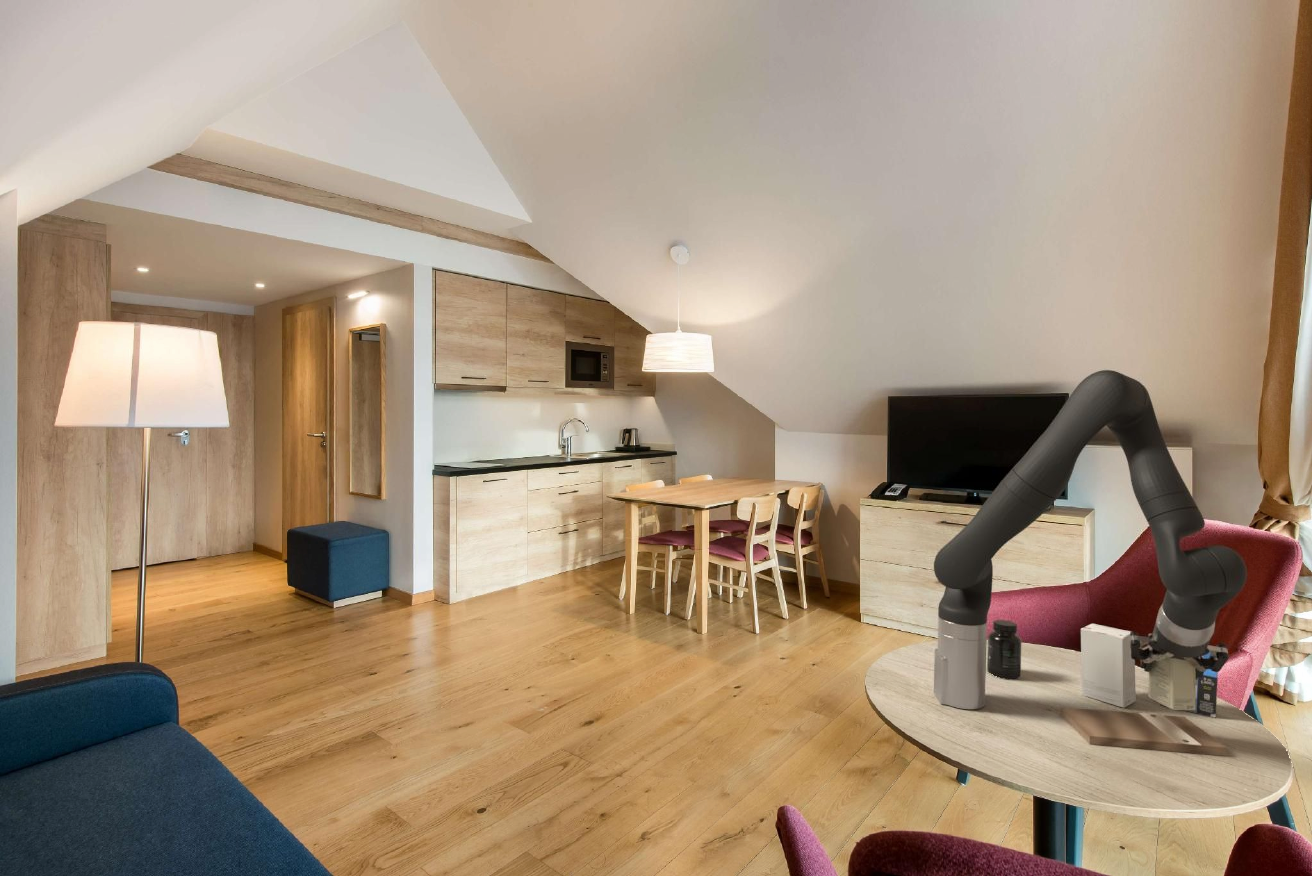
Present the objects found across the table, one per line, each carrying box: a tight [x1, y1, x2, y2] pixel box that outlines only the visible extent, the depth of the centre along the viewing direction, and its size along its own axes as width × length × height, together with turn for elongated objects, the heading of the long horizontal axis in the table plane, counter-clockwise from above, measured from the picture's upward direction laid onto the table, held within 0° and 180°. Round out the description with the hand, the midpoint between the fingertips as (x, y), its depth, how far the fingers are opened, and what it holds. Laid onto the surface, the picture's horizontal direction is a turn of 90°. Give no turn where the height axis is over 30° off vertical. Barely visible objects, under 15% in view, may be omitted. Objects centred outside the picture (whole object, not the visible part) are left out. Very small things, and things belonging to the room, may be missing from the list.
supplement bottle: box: [986, 619, 1022, 680], centre depth 150 cm, size 7×7×12 cm
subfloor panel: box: [1060, 706, 1228, 756], centre depth 122 cm, size 22×12×2 cm, turn 80°
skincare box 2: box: [1147, 633, 1196, 711], centre depth 121 cm, size 6×4×12 cm
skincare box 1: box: [1080, 623, 1137, 708], centre depth 137 cm, size 8×6×15 cm
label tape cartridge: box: [1159, 653, 1219, 718], centre depth 133 cm, size 9×4×12 cm, turn 51°
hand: (1169, 670), depth 122 cm, fingers closed on skincare box 2, 6 cm apart
